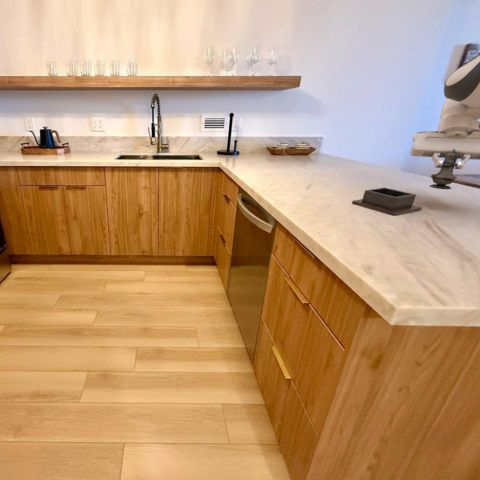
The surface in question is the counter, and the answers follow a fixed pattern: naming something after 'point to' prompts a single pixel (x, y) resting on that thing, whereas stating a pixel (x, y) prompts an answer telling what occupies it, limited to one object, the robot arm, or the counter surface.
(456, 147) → the robot arm
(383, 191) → the dark grey square tray
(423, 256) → the counter surface
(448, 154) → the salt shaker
